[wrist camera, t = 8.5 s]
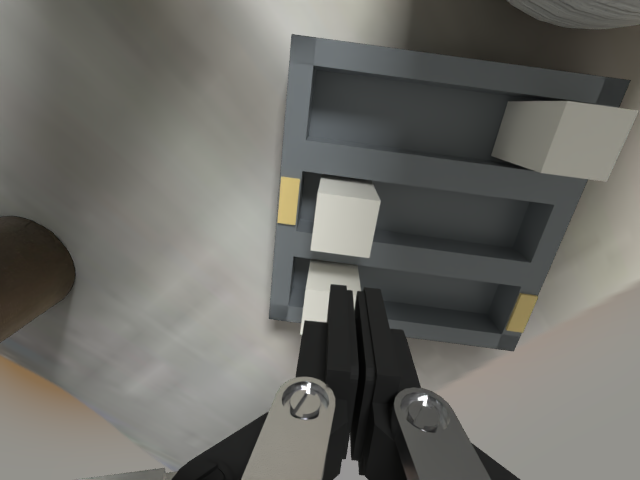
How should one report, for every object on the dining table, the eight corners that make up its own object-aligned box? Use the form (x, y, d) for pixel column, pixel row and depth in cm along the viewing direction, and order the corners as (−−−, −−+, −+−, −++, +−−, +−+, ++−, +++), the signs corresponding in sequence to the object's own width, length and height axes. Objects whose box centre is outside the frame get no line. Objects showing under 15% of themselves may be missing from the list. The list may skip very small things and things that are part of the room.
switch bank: (276, 295, 34) (268, 320, 30) (298, 44, 25) (291, 33, 21) (494, 323, 34) (515, 353, 30) (587, 83, 25) (633, 79, 21)
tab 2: (490, 155, 27) (540, 172, 20) (508, 101, 25) (567, 100, 19) (540, 162, 27) (606, 181, 20) (561, 108, 25) (639, 110, 19)
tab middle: (316, 217, 29) (310, 250, 23) (322, 171, 28) (317, 192, 21) (362, 223, 29) (369, 258, 23) (370, 178, 28) (380, 201, 21)
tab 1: (307, 287, 32) (299, 334, 25) (312, 249, 30) (305, 288, 24) (349, 293, 32) (352, 341, 25) (356, 255, 30) (361, 296, 24)
